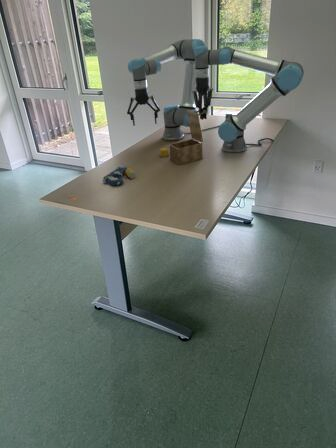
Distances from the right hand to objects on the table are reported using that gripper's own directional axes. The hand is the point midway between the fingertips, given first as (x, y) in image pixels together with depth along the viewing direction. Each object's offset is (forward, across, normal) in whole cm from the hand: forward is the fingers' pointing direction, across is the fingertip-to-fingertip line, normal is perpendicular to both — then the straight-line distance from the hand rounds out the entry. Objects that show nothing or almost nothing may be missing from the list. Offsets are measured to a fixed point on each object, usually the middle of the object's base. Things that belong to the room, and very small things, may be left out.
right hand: (203, 118), depth 202 cm
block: (+22, -21, +15) cm, 34 cm away
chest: (+22, -13, 0) cm, 26 cm away
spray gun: (+22, -58, -4) cm, 63 cm away
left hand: (+1, -30, +20) cm, 36 cm away
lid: (+3, -7, 0) cm, 8 cm away
